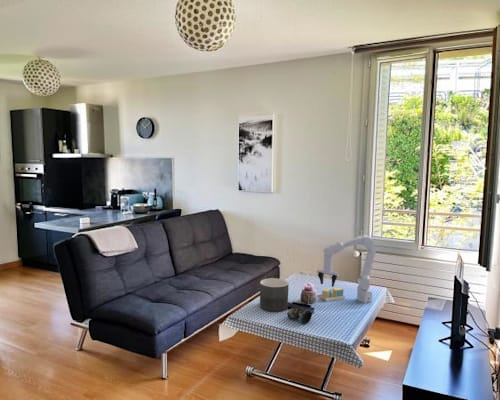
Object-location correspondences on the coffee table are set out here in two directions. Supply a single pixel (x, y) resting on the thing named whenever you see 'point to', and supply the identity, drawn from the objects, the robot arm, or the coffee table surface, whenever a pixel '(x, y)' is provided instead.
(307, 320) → the figurine
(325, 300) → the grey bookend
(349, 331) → the coffee table surface
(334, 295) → the carton faced
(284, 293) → the planter
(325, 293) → the carton
